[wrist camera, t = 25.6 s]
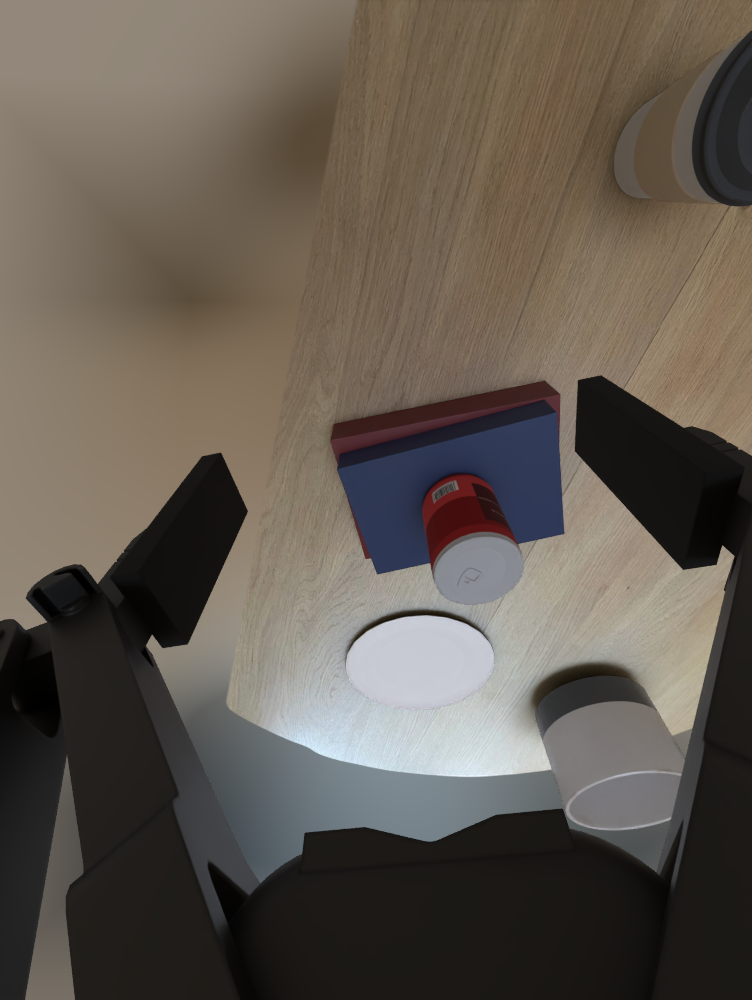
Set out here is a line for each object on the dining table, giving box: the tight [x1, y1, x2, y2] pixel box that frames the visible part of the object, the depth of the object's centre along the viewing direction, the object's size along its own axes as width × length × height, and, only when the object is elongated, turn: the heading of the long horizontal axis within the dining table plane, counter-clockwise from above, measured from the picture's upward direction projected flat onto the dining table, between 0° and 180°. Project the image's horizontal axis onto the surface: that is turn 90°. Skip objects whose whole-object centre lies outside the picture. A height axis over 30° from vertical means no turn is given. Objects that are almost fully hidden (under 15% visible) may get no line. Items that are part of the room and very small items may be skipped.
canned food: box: [422, 474, 524, 605], centre depth 41 cm, size 8×8×11 cm
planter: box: [535, 676, 685, 830], centre depth 70 cm, size 19×19×18 cm
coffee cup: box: [614, 31, 752, 206], centre depth 29 cm, size 9×9×15 cm
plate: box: [345, 615, 494, 710], centre depth 71 cm, size 25×25×2 cm
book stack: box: [331, 381, 564, 574], centre depth 49 cm, size 17×24×8 cm
